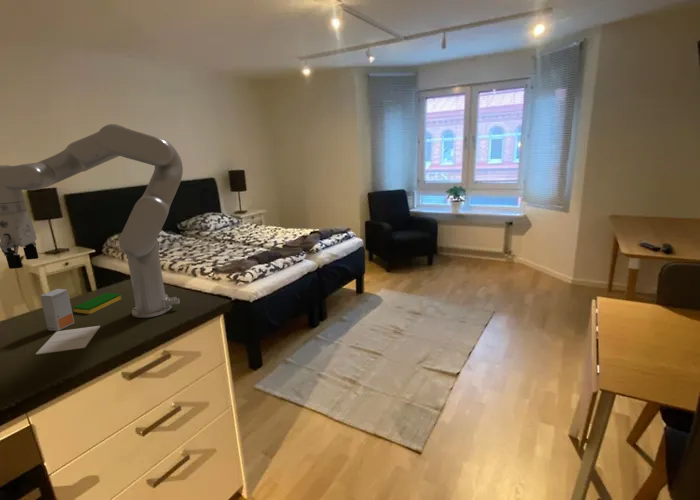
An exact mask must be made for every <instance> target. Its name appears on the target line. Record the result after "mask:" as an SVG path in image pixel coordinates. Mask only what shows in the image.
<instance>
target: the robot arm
mask: <svg viewBox="0 0 700 500" xmlns="http://www.w3.org/2000/svg"><path fill="white" fill-rule="evenodd" d="M117 157H122V158H126V159H128V160H131V161H132V160H133V161H136V162H140V163H144V164H147V165H151V166H154V170H153V173H152V175H151V178H150V180H149V182H148V185H147V186H146V189H145V191H144V192H143V194H142V196H141V197H140V198H139V199H138V200H137V201H136V202H135V204H134V206H133V207H132V210H131V212H130V214H129V216H128V219H127V221H126V223H125V225H124V227H123V229H122V231H121V234H120V236H119V240H118V245H119V248H120V250H121V251H122V252H123V254H125V255H126V256H127V262H128V263H127V264H128V269H129V270H128V271H129V276H130V281H131V286H132V291H133V297H134V304H135V307H133V308H132V310H131V315H132V316H133V317H135V318H141V319H146V318H147V319H149V318H153V317H158V316H160V315H164V314H166V313H168V312H169V311H171V310H172V308H173V305H180V298H179V297H178V298H177V296H174V297H170V296H168V293H166V291H165V286H164V280H163V279H164V278H163V273H162V265H161V264H162V263H161V258H160V251H159V242H158V237H159V235H160V233H161V230H162V229H163V226H164V224H165V223H166V220H167V218H168V215H169V212H170V208H171V205H172V203H173V200H174V198H175V196H176V193H177V191H178V189H179V186H180V185H181V181H182V178H183V171H184V168H183V162H182V158H181V156H180V154H179V153H178V151H177V149H176V148H175V147H174V146H173V144H171V142H169V141H168V140H166V139H165V138H162V137H161V138H160V137H156V136H153V135H149V134H146V133H143V132H140V131H137V130H133V129H130V128H127V127H125V126H123V125H120V124H112V123H111V124H105V125H104V126H102V127H101V128H100V129H99V131H96V132H95V133H92V134H89V135H88V136H85V137H82V138H80V139H78V140H76V141H72V142H71V143H69V144H68V145H67V146H66V147H65V149H64V150H62V151H60V152H58V153H57V154H54V155H52V156H49V157H48V158H45V159H43V160H40V161H37V162H32V163H31V162H29V163H24V164H18V165H9V164H7V165H6V164H5V165H4V164H3V165H0V249H1V252H2V253H3V255H4V257H5V259H6V262H7V266H8V269H9V270H10V269H11V270H13V269H22V268H23V267H24V265H23V263H22V261H23V260H22V259H21V254H19V247H20V248H23V249H22V250H23V252H24V253H23V254H24V257H25V260H37V259H40V258H39V254H38V250H37V243H36V240H37V239H38V238H37V234H36V231H35V228H34V225H33V222H32V219H31V217H30V215H29V212H28V209H27V205H26V201H25V197H24V193H23V191H36V190H37V191H38V190H40V189H44V188H48V187H51V186H52V185H55V184H57V183H60V182H61V181H64V180H67V179H68V178H70V177H74V176H75V175H78V174H81V173H82V172H87V171H90V170H91V169H93V168H95V167H97V166H100V165H101V164H104V163H106V162H109V161H112V160H113V159H115V158H117Z"/></svg>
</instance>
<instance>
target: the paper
mask: <svg viewBox="0 0 700 500" xmlns="http://www.w3.org/2000/svg"><path fill="white" fill-rule="evenodd" d="M100 328H101V325H96V326H95V325H94V326H87V327H80V328H72V329H64V330H63V329H62V330H60V331H55V332H54V333H53V334H52V336H51V337H50V338H49V339H48V340H47V341H46V342H45V343H44V344H43V345H42V346H41V347H40V348H39V349H38V350H37V352H36V353H35V356H36V355H37V356H38V355H45V354H51V353H57V352H65V351H70V350H71V351H72V350H77V349H80V350H81V349H85V348H86V347H87V346H88V345H89V343H90V341H91V340H92V338H93V337H94V336H95V335H96V333H97V332H98V330H99V329H100Z"/></svg>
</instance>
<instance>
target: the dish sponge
mask: <svg viewBox="0 0 700 500" xmlns="http://www.w3.org/2000/svg"><path fill="white" fill-rule="evenodd" d="M121 300H122V296H121V293H112V292H104V293H102V294H100V295H98V296H95V297H93V298H92V299H89V300H86V301H84V302H82V303H80V304H78V305H75V306H73V311H74V313H76V312H77V314H87V315H90V314H93V313H96V312H97V311H99V310H101V309H104V308H105V307H108V306H110V305H112V304H114V303H116V302H118V301H121Z"/></svg>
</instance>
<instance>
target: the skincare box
mask: <svg viewBox="0 0 700 500" xmlns="http://www.w3.org/2000/svg"><path fill="white" fill-rule="evenodd" d="M39 299H40V302H41V306H42V310H43V315H44V318H45V323H46V328H47V330H48V331H52V332H53V331H55V332H56V331H62V330H63V329H65V328H67V327H69V326H71V325H74V324H75V319H74V313H73V309H72V305H71V300H70V299H71V298H70V295H69V290H68V289H65V288H64V289H63V288H56V289H53V290H50V291H48V292H46V293H43V294H41V295H39Z"/></svg>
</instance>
